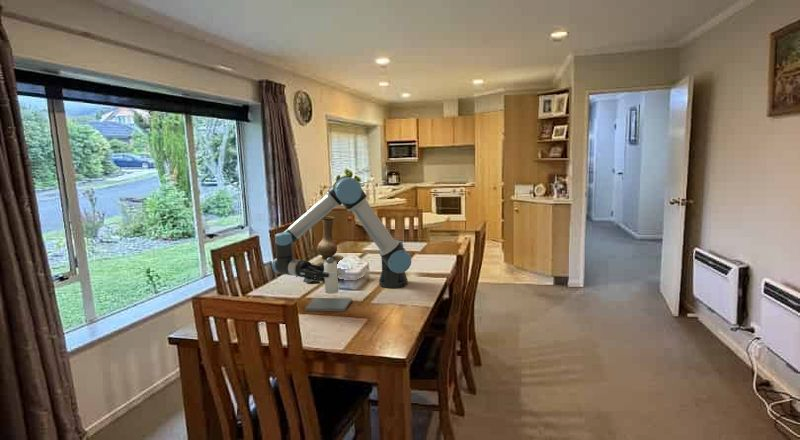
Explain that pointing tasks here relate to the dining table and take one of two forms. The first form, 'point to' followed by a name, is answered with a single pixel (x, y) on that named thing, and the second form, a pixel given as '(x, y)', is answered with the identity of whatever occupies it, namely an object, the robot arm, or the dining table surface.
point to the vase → (325, 246)
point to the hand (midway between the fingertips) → (340, 274)
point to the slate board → (328, 304)
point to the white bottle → (330, 284)
